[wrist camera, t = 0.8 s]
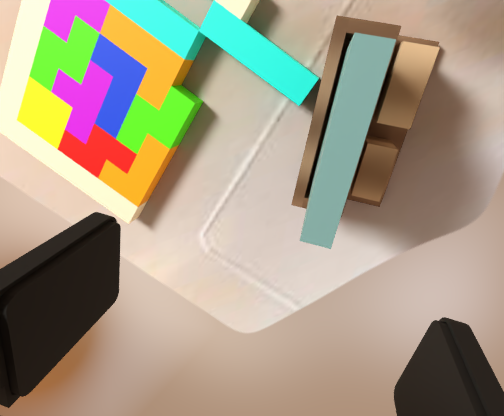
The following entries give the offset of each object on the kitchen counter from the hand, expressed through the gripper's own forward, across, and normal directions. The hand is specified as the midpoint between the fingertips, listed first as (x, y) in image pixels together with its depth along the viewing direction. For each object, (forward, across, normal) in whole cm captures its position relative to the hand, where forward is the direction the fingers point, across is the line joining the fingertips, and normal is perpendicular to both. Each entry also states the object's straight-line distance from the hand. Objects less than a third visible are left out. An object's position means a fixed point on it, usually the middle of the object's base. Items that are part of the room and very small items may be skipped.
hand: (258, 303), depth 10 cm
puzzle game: (+29, +19, 0) cm, 35 cm away
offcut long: (+27, -6, -6) cm, 29 cm away
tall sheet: (+27, -2, -2) cm, 27 cm away
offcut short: (+27, -6, +1) cm, 28 cm away
